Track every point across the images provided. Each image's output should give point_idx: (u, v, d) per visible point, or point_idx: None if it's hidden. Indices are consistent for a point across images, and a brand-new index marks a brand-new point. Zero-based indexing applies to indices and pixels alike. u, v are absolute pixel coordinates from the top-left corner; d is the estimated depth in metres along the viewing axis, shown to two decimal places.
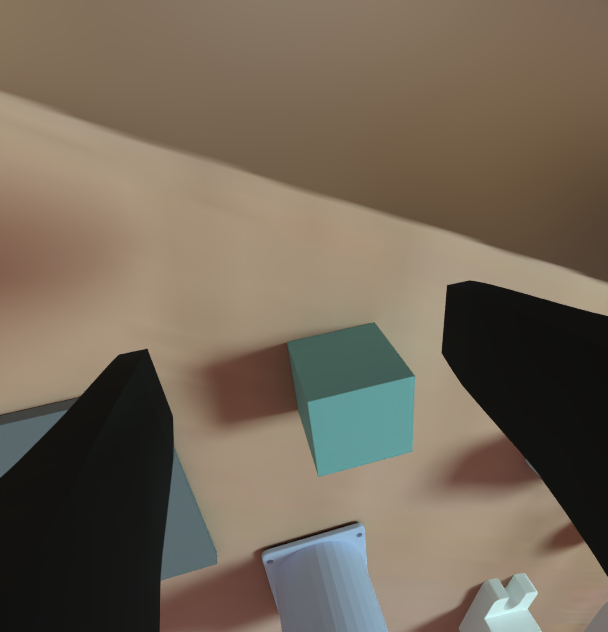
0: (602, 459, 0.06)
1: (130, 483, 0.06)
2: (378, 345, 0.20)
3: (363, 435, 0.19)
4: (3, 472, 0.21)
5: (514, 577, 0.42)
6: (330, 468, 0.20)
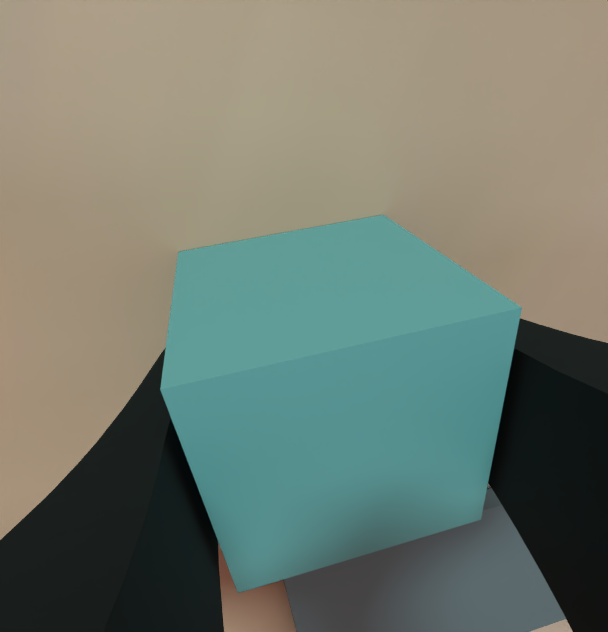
0: (544, 476, 0.06)
1: None
2: None
3: (383, 466, 0.07)
4: None
5: None
6: (466, 505, 0.08)
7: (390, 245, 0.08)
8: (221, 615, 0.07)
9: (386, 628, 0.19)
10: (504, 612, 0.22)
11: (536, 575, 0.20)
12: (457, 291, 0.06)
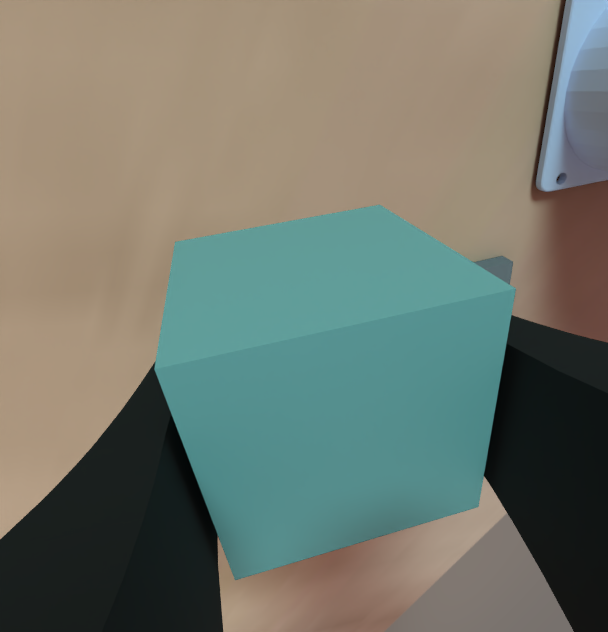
0: (545, 476, 0.06)
1: None
2: None
3: (380, 451, 0.07)
4: None
5: None
6: (463, 491, 0.08)
7: (386, 233, 0.08)
8: (220, 615, 0.07)
9: None
10: None
11: None
12: (452, 274, 0.06)
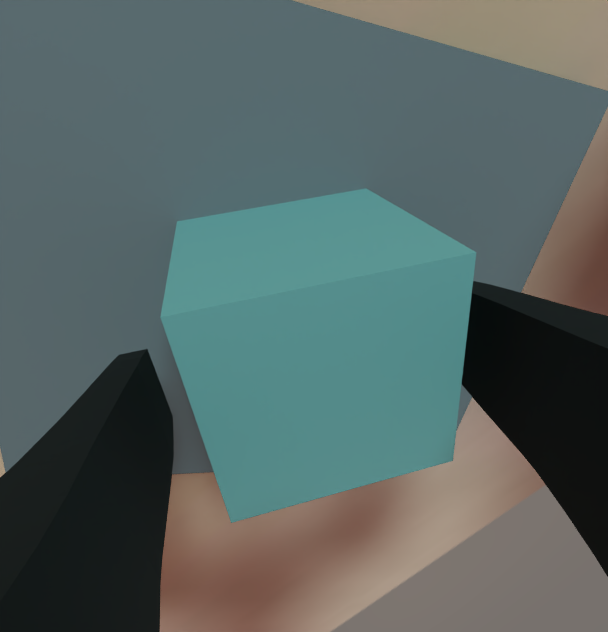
0: (602, 459, 0.06)
1: (130, 483, 0.06)
2: None
3: (360, 402, 0.07)
4: (102, 324, 0.11)
5: None
6: (438, 445, 0.09)
7: (369, 211, 0.09)
8: None
9: (149, 308, 0.11)
10: None
11: None
12: (423, 242, 0.07)
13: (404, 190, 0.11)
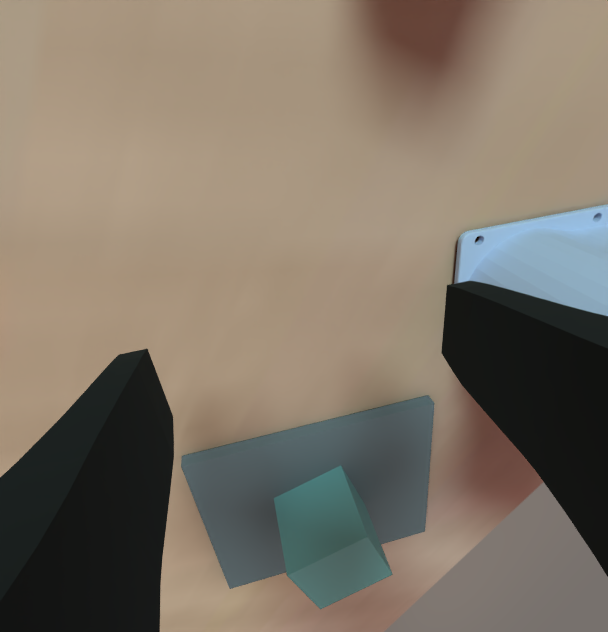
0: (602, 459, 0.06)
1: (130, 483, 0.06)
2: None
3: (349, 572, 0.24)
4: (254, 532, 0.28)
5: None
6: (383, 572, 0.25)
7: (340, 495, 0.25)
8: None
9: (269, 523, 0.28)
10: None
11: (379, 489, 0.29)
12: (354, 527, 0.23)
13: (356, 460, 0.27)
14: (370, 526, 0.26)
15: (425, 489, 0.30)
